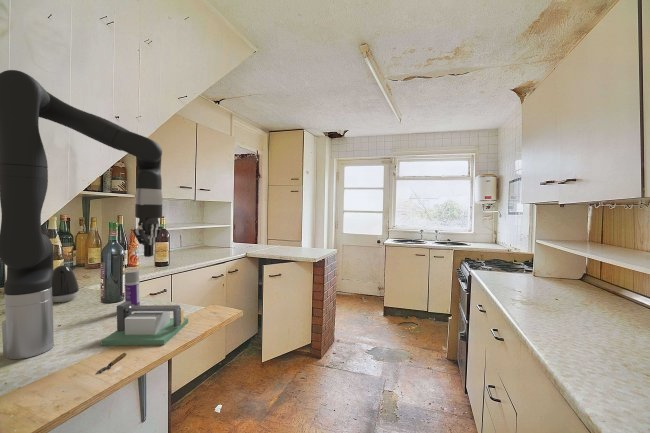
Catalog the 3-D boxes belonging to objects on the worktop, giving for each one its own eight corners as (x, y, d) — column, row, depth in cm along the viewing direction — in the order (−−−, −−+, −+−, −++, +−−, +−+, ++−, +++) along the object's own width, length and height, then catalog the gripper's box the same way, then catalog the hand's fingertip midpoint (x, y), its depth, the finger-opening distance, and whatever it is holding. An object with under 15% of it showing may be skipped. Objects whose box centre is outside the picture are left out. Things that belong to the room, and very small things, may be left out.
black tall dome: (45, 307, 115) (44, 269, 114) (47, 300, 123) (45, 264, 122) (79, 301, 122) (78, 265, 121) (78, 295, 130) (77, 261, 129)
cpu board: (101, 345, 85) (100, 313, 84) (135, 322, 101) (135, 295, 100) (164, 344, 85) (163, 313, 85) (188, 322, 101) (187, 295, 101)
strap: (123, 327, 91) (122, 308, 91) (130, 322, 94) (130, 304, 94) (176, 327, 91) (175, 308, 91) (181, 322, 95) (181, 304, 95)
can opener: (123, 356, 79) (123, 352, 79) (130, 357, 79) (130, 353, 79) (92, 375, 71) (92, 370, 70) (101, 376, 70) (101, 371, 70)
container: (123, 312, 110) (122, 273, 110) (128, 307, 115) (127, 270, 114) (137, 310, 112) (136, 272, 111) (141, 306, 116) (140, 269, 116)
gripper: (149, 203, 101) (149, 252, 101) (123, 202, 88) (123, 259, 88) (171, 203, 101) (170, 253, 101) (148, 203, 88) (148, 260, 88)
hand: (148, 256), depth 95 cm, fingers closed
